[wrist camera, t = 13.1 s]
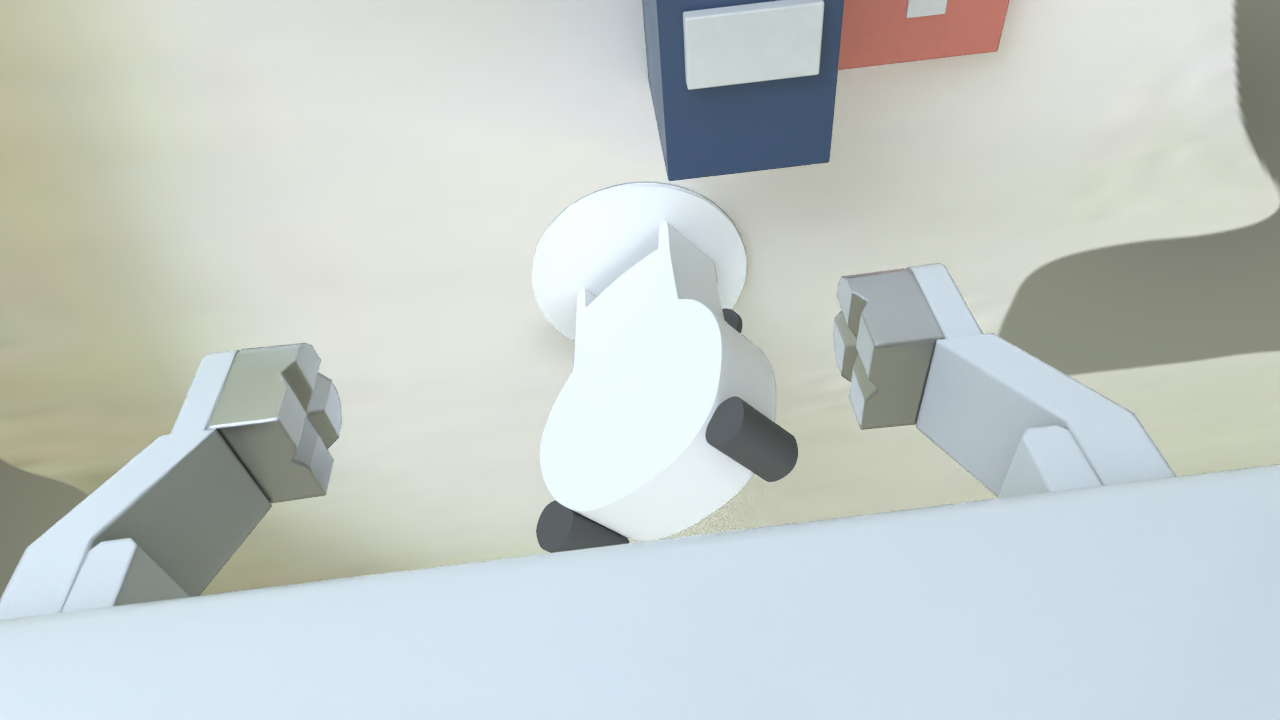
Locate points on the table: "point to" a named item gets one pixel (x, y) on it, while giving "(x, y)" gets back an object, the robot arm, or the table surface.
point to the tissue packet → (917, 30)
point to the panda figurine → (650, 369)
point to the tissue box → (742, 82)
